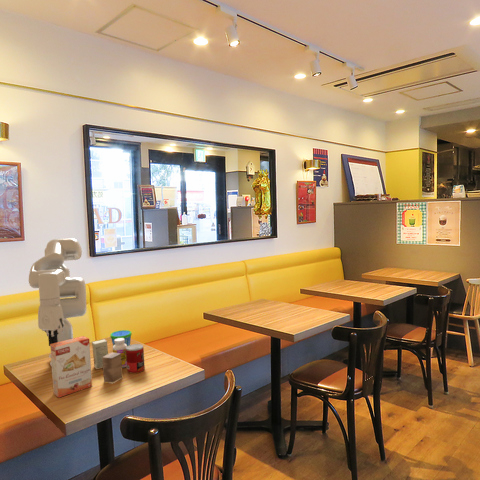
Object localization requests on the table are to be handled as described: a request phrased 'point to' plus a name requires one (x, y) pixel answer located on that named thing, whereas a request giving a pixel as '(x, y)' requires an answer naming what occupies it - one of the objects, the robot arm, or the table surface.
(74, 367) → the cracker box
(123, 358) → the supplement bottle
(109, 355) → the walnut block
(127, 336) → the snack cup
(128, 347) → the canned food
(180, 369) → the table surface
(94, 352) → the skincare box
